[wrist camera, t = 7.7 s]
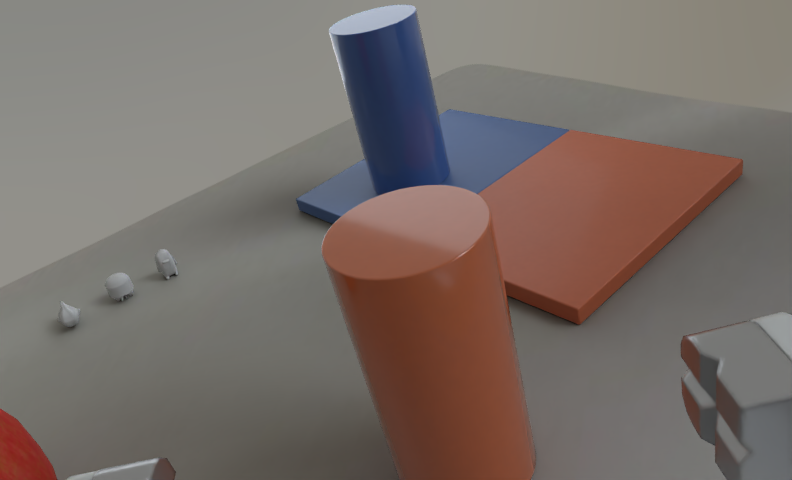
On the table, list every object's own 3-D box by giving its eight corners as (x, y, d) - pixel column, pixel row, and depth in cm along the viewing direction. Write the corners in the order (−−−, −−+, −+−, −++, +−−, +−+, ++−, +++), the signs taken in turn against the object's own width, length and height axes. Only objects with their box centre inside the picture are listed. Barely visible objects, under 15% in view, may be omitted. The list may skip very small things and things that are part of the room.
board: (743, 174, 40) (743, 158, 40) (579, 326, 32) (577, 309, 32) (451, 119, 57) (449, 108, 57) (299, 210, 50) (294, 198, 49)
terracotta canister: (565, 448, 27) (527, 205, 21) (470, 548, 24) (398, 301, 19) (463, 390, 31) (409, 172, 25) (371, 470, 28) (288, 247, 22)
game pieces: (64, 336, 42) (49, 311, 41) (60, 321, 44) (45, 297, 43) (185, 276, 45) (173, 252, 44) (177, 264, 47) (165, 241, 46)
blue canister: (466, 166, 47) (434, 4, 41) (409, 204, 44) (366, 36, 39) (413, 153, 51) (376, 3, 45) (357, 187, 48) (311, 32, 43)
